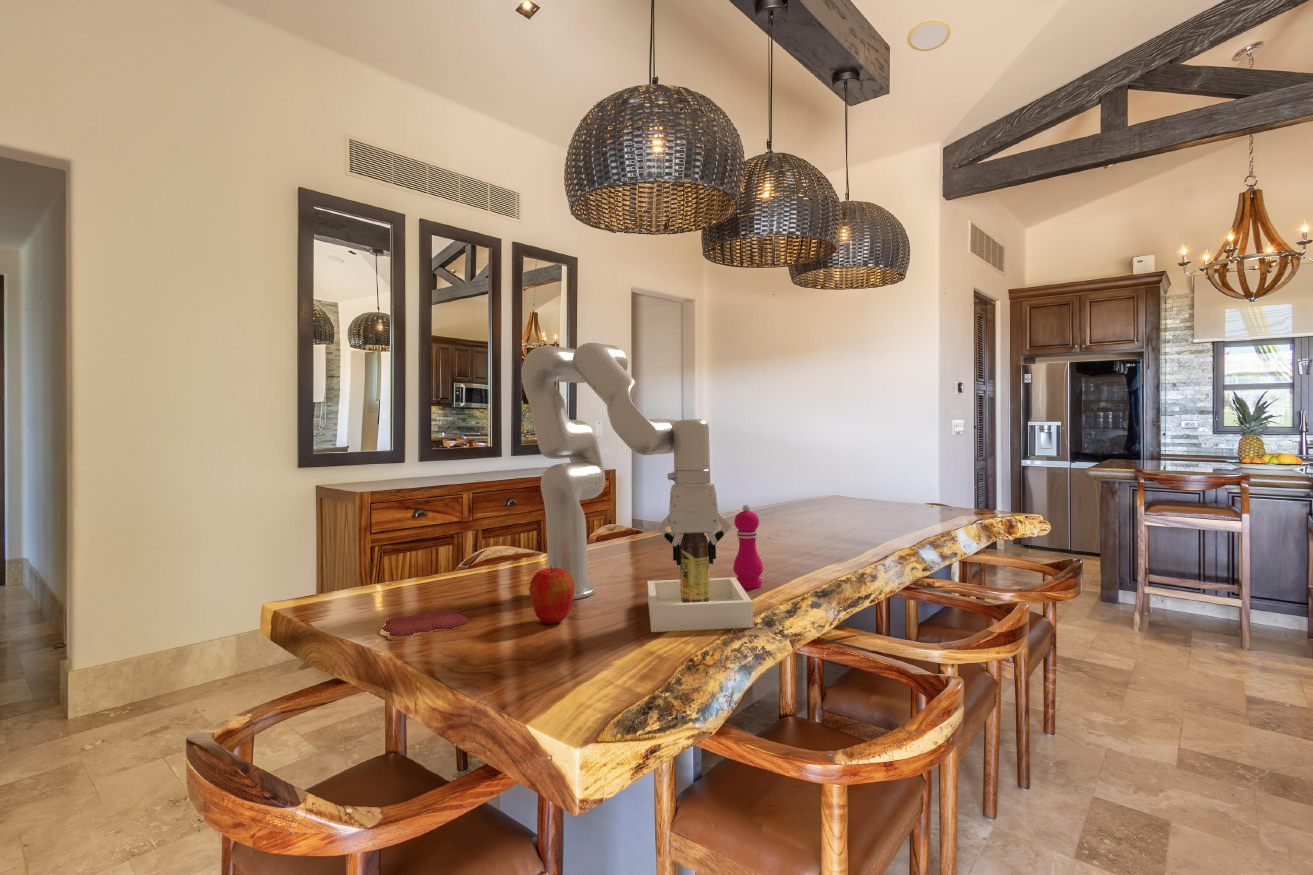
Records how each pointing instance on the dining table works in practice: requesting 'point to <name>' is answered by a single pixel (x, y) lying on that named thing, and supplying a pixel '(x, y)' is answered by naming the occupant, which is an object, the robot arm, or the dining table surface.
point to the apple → (552, 594)
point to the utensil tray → (699, 607)
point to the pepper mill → (747, 550)
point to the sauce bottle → (694, 568)
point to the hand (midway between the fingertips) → (694, 562)
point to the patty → (425, 622)
